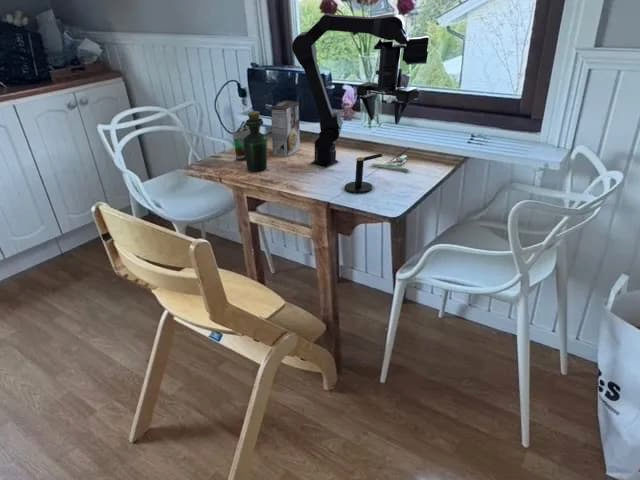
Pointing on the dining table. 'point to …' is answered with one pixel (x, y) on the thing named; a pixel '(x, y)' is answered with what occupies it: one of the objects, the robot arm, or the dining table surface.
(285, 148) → the coffee box
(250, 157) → the potion bottle
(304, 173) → the dining table surface
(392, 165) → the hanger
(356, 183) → the black holder stand
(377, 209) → the dining table surface
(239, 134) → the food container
